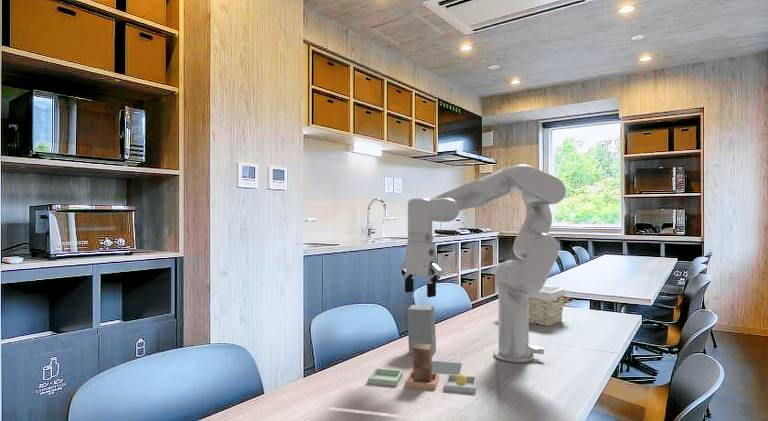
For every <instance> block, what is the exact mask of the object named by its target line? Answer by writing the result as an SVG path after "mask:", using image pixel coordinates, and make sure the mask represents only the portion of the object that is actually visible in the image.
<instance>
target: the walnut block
mask: <svg viewBox="0 0 768 421" xmlns="http://www.w3.org/2000/svg"><path fill="white" fill-rule="evenodd" d="M412 359H413V360H412V368H413V369H412V371H413V382H424V383H431V381H432V361H433V355H432V345H430V344H415V346H414V348H413V354H412Z"/></svg>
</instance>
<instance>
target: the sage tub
mask: <svg viewBox="0 0 768 421" xmlns="http://www.w3.org/2000/svg"><path fill="white" fill-rule="evenodd" d="M403 376H404V370H403V369H393V368H392V369H390V368H381V367H375V368H374V369H373V370H372V372H371V373H370V375H369V376H368V378H367V384H370V385H379V386H381V385H382V386H389V387H390V386H392V387H398V385H399V384H400V381H401V379H402V378H403Z"/></svg>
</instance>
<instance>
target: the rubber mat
mask: <svg viewBox="0 0 768 421" xmlns="http://www.w3.org/2000/svg"><path fill="white" fill-rule="evenodd" d="M462 365H463V364H462V363H461V362H450V361H449V362H448V361H437V360H436V361H435V360H432V373H439V374H443V375H447V374H453V375H458V374H461V369H462Z"/></svg>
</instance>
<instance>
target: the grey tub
mask: <svg viewBox="0 0 768 421" xmlns="http://www.w3.org/2000/svg"><path fill="white" fill-rule="evenodd" d="M456 376H457V375H453V374H446V377H445V380H444V385H443V386H444V387H443V391H444V392H453V393H455V392H456V393H465V394H466V393H467V394H474V395H475V394H477V393H476V392H477V386H478V385H477V384H478V376H476V375H475V376H474V375H465V376H466V378H467V383H466V384H465V385H464V386H458V385H457V384H456V382H455V377H456Z"/></svg>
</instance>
